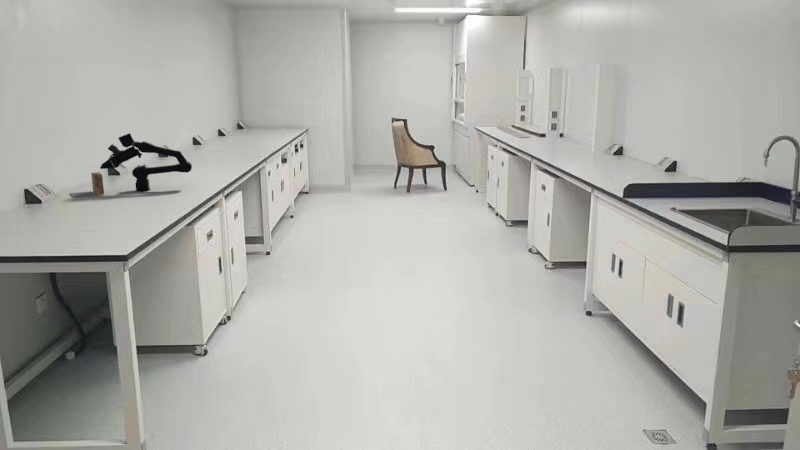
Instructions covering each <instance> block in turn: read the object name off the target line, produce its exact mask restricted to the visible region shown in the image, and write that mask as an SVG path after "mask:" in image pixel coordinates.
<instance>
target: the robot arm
mask: <svg viewBox="0 0 800 450" xmlns="http://www.w3.org/2000/svg"><path fill="white" fill-rule="evenodd" d="M117 139H118V140H119V142H120V144H121V145H122V147H123V148H126V149H123V150H120V149H119V147H118V146H116V145H115V144H113V143H111V144H110V145H109V147H108V148H107V150H109V151H110V152H111V154H110V157H108V159H106V161H104V162H103V163H102V164H101V166H100V167H99V169H101V170H104V169H117V168H119V167H120V165H121V164H122V163H125V162H128V161H129V160H132V159H133V158H135V157H138V158H139V159H141V158H142V156H143V153H146V154H158V155H163V156H168V157H173V158H175V159H176V160H177V162H178V163H175V164H171V165H170V164H169V165H161V166H160V165H159V166H151V167H148V166H146V164H143V165H137V166H136V167H135V166H134V167H133V169H132V171H131V174H132V176H133V177H134V178H136V180H135V181H136V182H135V192H148V191H150V190H151V187H150V179H149V175H156V174H165V173H174V172H177V173H189V172H191V171H192V168H193V165H192V163H191V162H190V161H188V160H187V159H186V157H185V156H184V155H183V154H182V151H180V150H177V149H176V150H175V149H172V148H171V149H170V148H166V147H161V146H158V145H157V146H156V145H155V144H153V143H150V142H148V141H145V140H144V141H141V142H140V141H135V140H134V139H133V137H132V134H131V133H127V134H124V135H122V136H119V137H117Z"/></svg>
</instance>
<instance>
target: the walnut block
mask: <svg viewBox="0 0 800 450" xmlns="http://www.w3.org/2000/svg"><path fill="white" fill-rule="evenodd" d="M91 182H92V192H93V193H94V194H95V196H96V197H97V196H105V190H104V181H103V174H102V173H100V171H99V172H97V171H96V172H91Z"/></svg>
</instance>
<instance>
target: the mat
mask: <svg viewBox="0 0 800 450" xmlns="http://www.w3.org/2000/svg"><path fill="white" fill-rule="evenodd" d="M69 195H70V196H71V198H86V197H87V198H88V197H95V196H96V195H95V194H94V193H93V190H91V191H82V192H80V191H78V192H69Z"/></svg>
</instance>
